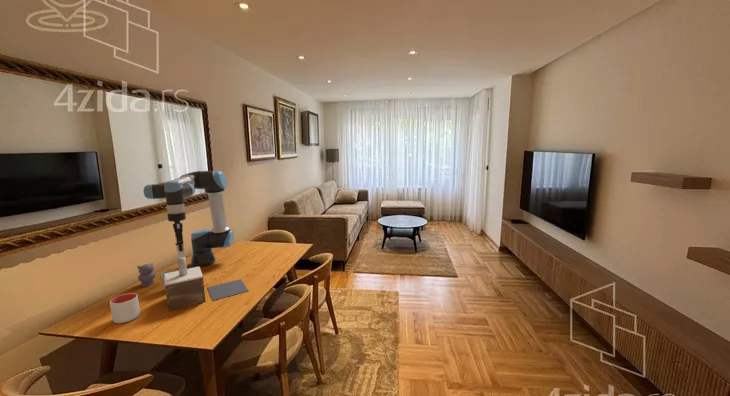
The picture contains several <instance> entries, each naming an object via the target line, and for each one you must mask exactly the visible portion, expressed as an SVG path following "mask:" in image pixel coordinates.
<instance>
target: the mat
mask: <svg viewBox="0 0 730 396" xmlns="http://www.w3.org/2000/svg"><path fill="white" fill-rule="evenodd" d="M206 288H207V290H208V293H209V295H210V297H211V298H210V299H211V301H212V302H213V301H217V300H221V299H225V298H230V297H232V296H236V295H240V294H244V293H247V292H250V290H249V289H248V288H247V286H246V285H245V283H244V282H243V279H241V278H240V279H236V280H231V281H227V282H224V283H219V284H214V285H210V286H207V287H206Z"/></svg>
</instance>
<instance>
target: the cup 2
mask: <svg viewBox="0 0 730 396" xmlns="http://www.w3.org/2000/svg"><path fill="white" fill-rule="evenodd" d="M174 271H178V270H177V269H169V270H165V271H162V272H161V273H160V278H161V279H160V280H161V283H162V285H163V288H164V290H165V291H166V288H165V274H164V273H169V272H174Z"/></svg>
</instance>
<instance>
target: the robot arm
mask: <svg viewBox="0 0 730 396" xmlns="http://www.w3.org/2000/svg"><path fill="white" fill-rule="evenodd" d="M227 180H228V179H227V177H226V174H225V173H224V172H223V171H221V170H200V171H199V170H197V171H191V172H188V173H185V174H182V175H180V176H179V177H177V178H174V179H171V180H168V181H164V182H163V181H162V182H161V183H160V182H159V183H156V184H153V183H151V184H146V185H145V186H143V187H144V188H143V196H144V197H145V198H146V199H148V200H150V199H151V200H156V199H157V200H159V199H161V200H162V199H165V202H166V206H165V209H166V212H167V215H166V216H167V221H168V222H172V228H173V231H174V234H175V235H174V236H175V246H176V251H177V258H181V257H186V254H185V247H184V246H185V245H184V243H185V242H184V236H183V229H184V228H183V222H181V221H185V220H186V218H187V217H186V216H187V215H186V205H185V199H186V198H190V197H192V196H193V195H195V192H196V190H204V193H205V194H207V197H208V204H209V210H210V215H211V222H212V226H213V227H212V229H211V230H210V228H203V229H199V230H195V231H193V232H192V233H191V235H190V240H191V241H190V242H191V249H192V255H191V256H192V257H191V259H190V266H191V267H193V268H194V267H200V268H201V267H206V266H210V265H212V264H214V263H215V262H216V261H217V260H216V257H215V254H214V252H213V249H222V248H223V249H225V248H230V247H231V246H232V245H233V243H234V238H235V233H234V230H231V228H230V226H229V225H228V223H227V222H228V221H227V216H226V208H225V203H224V201H225V200H224V194H223V192H225V189H227V186H228V181H227Z"/></svg>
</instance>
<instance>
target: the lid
mask: <svg viewBox="0 0 730 396" xmlns="http://www.w3.org/2000/svg"><path fill="white" fill-rule="evenodd" d="M177 267H178V270H177V271H174V272H169V273H164V274H165V286H167V285H172V284H176V283H181V282H185V281H190V280H194V279H199V278H203V279H204V274H203V273H202V270H201V267H194V266H193V267H190V268H188V265H187V258H186V256H185V257H181V258H178V257H177Z"/></svg>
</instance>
